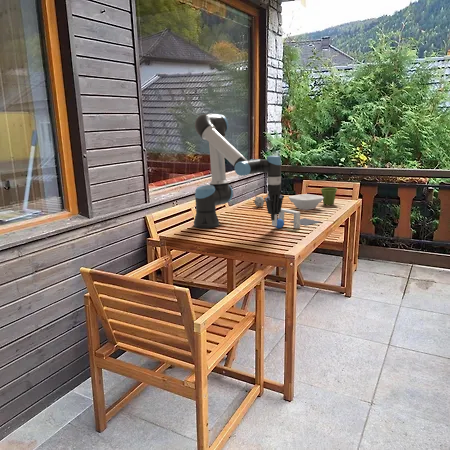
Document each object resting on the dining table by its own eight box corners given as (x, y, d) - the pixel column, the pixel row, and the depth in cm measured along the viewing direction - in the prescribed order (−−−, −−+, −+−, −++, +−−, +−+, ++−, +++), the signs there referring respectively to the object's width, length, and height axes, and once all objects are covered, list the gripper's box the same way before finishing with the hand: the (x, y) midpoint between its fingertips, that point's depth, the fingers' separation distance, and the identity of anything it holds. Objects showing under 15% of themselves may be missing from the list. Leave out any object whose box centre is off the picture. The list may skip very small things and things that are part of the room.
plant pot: (318, 203, 306) (319, 187, 303) (334, 202, 305) (335, 187, 303) (321, 206, 294) (322, 190, 292) (338, 205, 294) (339, 190, 291)
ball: (283, 217, 232) (287, 224, 235) (277, 216, 237) (281, 223, 240) (277, 223, 231) (281, 231, 233) (270, 222, 235) (275, 229, 238)
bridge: (296, 228, 234) (296, 212, 232) (278, 224, 246) (278, 208, 243) (299, 227, 236) (300, 211, 234) (281, 223, 247) (281, 208, 245)
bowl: (305, 213, 272) (305, 200, 270) (284, 208, 289) (284, 196, 287) (327, 209, 283) (327, 197, 281) (306, 205, 300) (306, 193, 298)
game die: (260, 211, 300) (267, 199, 301) (262, 209, 291) (268, 197, 293) (250, 205, 300) (256, 193, 301) (251, 203, 292) (257, 191, 293)
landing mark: (306, 225, 240) (306, 225, 240) (289, 221, 250) (289, 221, 250) (320, 222, 248) (320, 221, 247) (304, 218, 258) (304, 218, 258)
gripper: (269, 185, 221) (270, 228, 226) (287, 183, 228) (287, 224, 234) (260, 184, 227) (261, 226, 232) (278, 182, 234) (278, 222, 240)
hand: (274, 225), depth 233 cm, fingers closed
